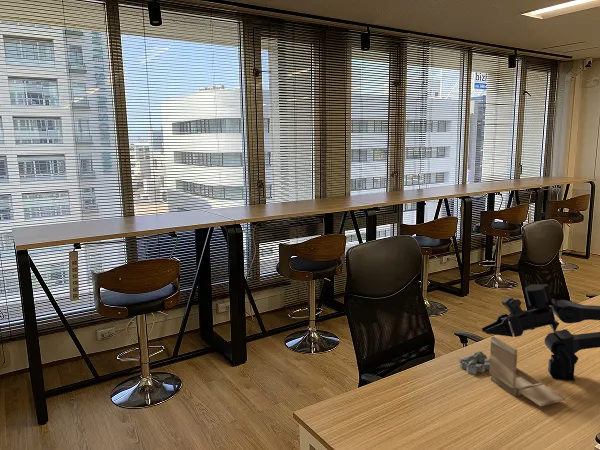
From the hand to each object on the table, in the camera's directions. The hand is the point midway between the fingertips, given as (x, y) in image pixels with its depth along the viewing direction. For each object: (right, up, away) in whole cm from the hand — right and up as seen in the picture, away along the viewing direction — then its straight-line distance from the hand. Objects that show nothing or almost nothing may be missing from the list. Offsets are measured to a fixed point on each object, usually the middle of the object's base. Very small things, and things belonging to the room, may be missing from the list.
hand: (483, 330), depth 156 cm
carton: (+9, -16, -11) cm, 21 cm away
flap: (+3, -13, -9) cm, 16 cm away
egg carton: (0, -14, +5) cm, 15 cm away
